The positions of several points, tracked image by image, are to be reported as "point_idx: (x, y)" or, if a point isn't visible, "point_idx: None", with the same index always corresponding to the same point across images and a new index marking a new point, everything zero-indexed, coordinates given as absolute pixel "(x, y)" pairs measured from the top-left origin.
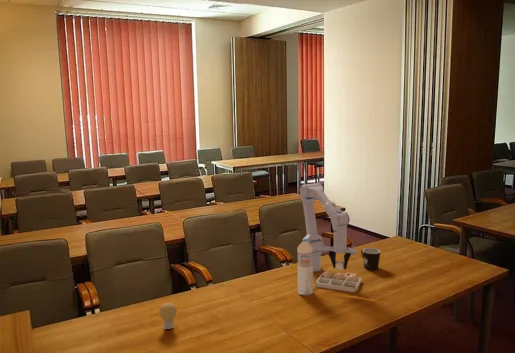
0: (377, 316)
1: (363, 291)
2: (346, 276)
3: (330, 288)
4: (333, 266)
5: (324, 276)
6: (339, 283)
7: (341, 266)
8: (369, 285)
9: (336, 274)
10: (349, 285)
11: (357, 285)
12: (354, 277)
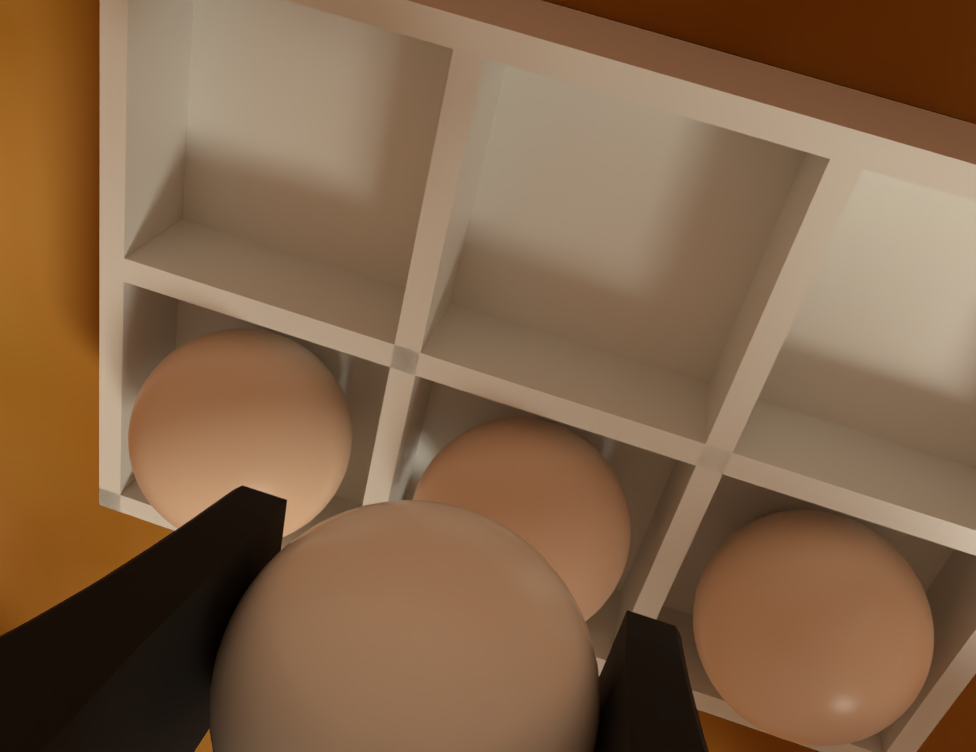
0: None
1: (74, 108)
2: None
3: (800, 89)
4: (668, 662)
5: (904, 578)
6: (548, 352)
7: (327, 560)
8: (28, 374)
9: (591, 585)
10: (333, 277)
11: (105, 129)
12: (162, 414)
